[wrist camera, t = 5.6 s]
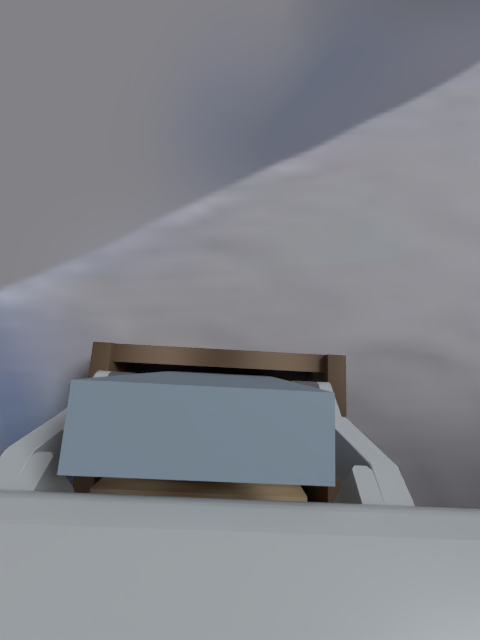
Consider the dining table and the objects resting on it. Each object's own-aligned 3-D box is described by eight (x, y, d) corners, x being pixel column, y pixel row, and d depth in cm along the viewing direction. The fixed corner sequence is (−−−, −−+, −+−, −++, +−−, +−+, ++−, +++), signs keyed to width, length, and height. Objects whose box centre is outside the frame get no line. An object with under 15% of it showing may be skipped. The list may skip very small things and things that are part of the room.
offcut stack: (299, 430, 19) (332, 460, 13) (298, 514, 18) (332, 587, 12) (135, 422, 18) (90, 449, 12) (125, 507, 18) (73, 579, 12)
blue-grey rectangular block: (264, 375, 19) (334, 392, 6) (263, 404, 19) (335, 486, 6) (177, 370, 19) (71, 379, 6) (175, 400, 19) (57, 475, 6)
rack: (322, 357, 20) (345, 355, 16) (321, 534, 18) (347, 583, 14) (121, 346, 19) (93, 341, 15) (99, 526, 17) (61, 573, 13)
